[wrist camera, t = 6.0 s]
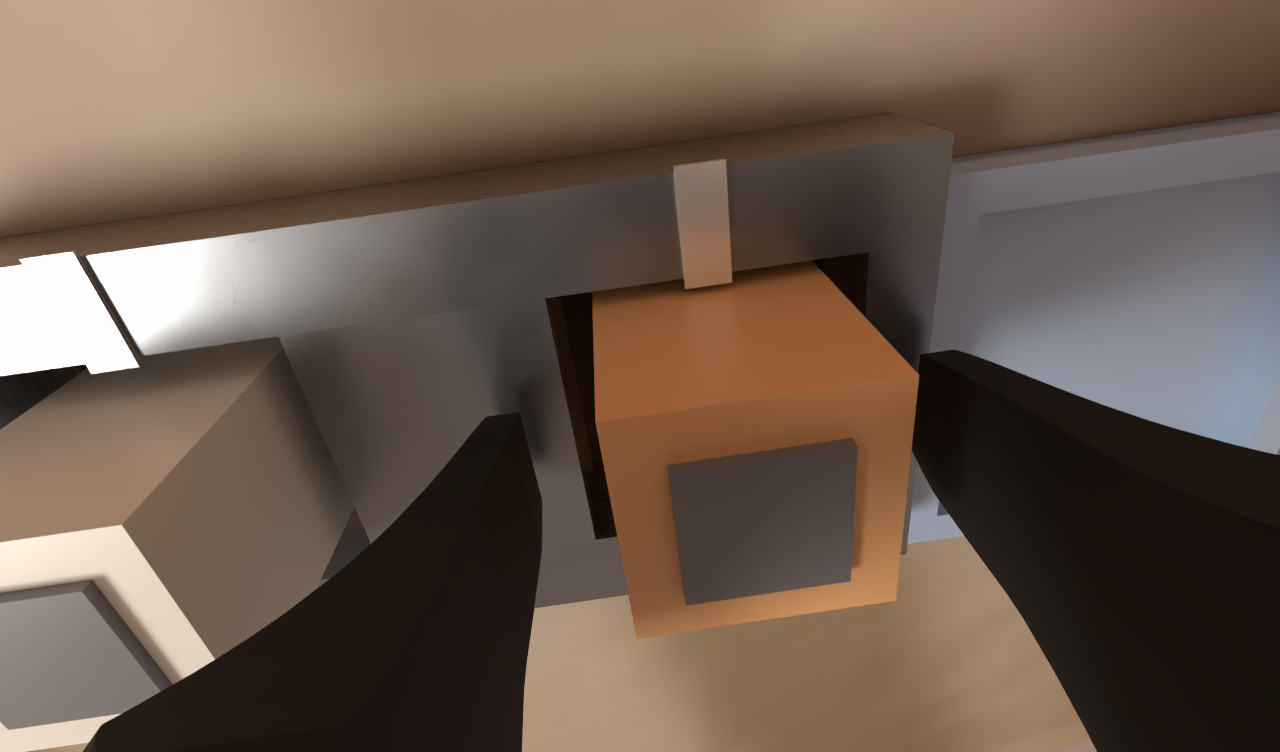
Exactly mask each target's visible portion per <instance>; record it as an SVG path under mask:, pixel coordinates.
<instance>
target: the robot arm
mask: <svg viewBox="0 0 1280 752" xmlns="http://www.w3.org/2000/svg"><path fill="white" fill-rule="evenodd" d="M918 374H919V383H918V392H917V402H916V411H915V421H914V430H913V440H912V452H913V454H914V456H915V458H916V460H917V462H918V464H919V466H920V468H921V470H922V472H923V474H924V476H925V478H926V480H927V481H928V483H929V485H930V487H931V489H932V491H933V492H934V494H935V495H936V497H937V498H938V500H939V501H940V503H941V504H942V505H943V507H944V508H945V510H946V511H947V512H948V514H949V515H950V517H951V518H952V519H953V521H954V522H955V524H956V525H957V526H958V528H959V529H960V530H961V532H962V533H963V535H964V536H965V537H966V539H967V540H968V541H969V543H970V544H971V545H972V547H973V548H974V549H975V551H976V552H977V554H978V555H979V556H980V558H981V559H982V560H983V562H984V563H985V564H986V566H987V567H988V569H989V570H990V571H991V573H992V574H993V575H994V577H995V578H996V579H997V581H998V582H999V584H1000V585H1001V586H1002V588H1003V589H1004V590H1005V592H1006V593H1007V595H1008V596H1009V598H1010V599H1011V600H1012V602H1013V603H1014V605H1015V606H1016V608H1017V609H1018V611H1019V612H1020V614H1021V615H1022V617H1023V619H1024V620H1025V622H1026V624H1027V625H1028V627H1029V629H1030V631H1031V632H1032V634H1033V636H1034V637H1035V639H1036V641H1037V643H1038V644H1039V646H1040V648H1041V649H1042V651H1043V653H1044V655H1045V656H1046V658H1047V660H1048V661H1049V663H1050V665H1051V667H1052V668H1053V670H1054V672H1055V674H1056V675H1057V677H1058V679H1059V681H1060V683H1061V685H1062V686H1063V688H1064V690H1065V692H1066V694H1067V696H1068V697H1069V699H1070V701H1071V703H1072V705H1073V707H1074V708H1075V710H1076V712H1077V714H1078V716H1079V718H1080V719H1081V721H1082V723H1083V725H1084V727H1085V729H1086V731H1087V733H1088V734H1089V736H1090V738H1091V740H1092V742H1093V744H1094V746H1095V748H1096V750H1097V752H1280V455H1277V454H1272V453H1267V452H1263V451H1259V450H1254V449H1250V448H1246V447H1242V446H1238V445H1234V444H1230V443H1226V442H1222V441H1219V440H1215V439H1212V438H1208V437H1204V436H1201V435H1197V434H1194V433H1190V432H1186V431H1183V430H1179V429H1176V428H1172V427H1169V426H1166V425H1162V424H1159V423H1156V422H1153V421H1149V420H1146V419H1143V418H1140V417H1137V416H1134V415H1132V414H1129V413H1126V412H1123V411H1120V410H1117V409H1114V408H1111V407H1108V406H1105V405H1102V404H1100V403H1097V402H1094V401H1091V400H1089V399H1086V398H1083V397H1080V396H1078V395H1075V394H1073V393H1070V392H1067V391H1065V390H1062V389H1060V388H1057V387H1054V386H1052V385H1049V384H1047V383H1044V382H1042V381H1039V380H1037V379H1034V378H1031V377H1029V376H1026V375H1024V374H1021V373H1019V372H1016V371H1014V370H1011V369H1009V368H1006V367H1004V366H1001V365H999V364H996V363H993V362H991V361H988V360H985V359H983V358H980V357H977V356H974V355H971V354H968V353H965V352H962V351H958V350H947V351H940V352H933V353H926V354H920V361H919V370H918ZM541 554H542V498H541V494H540V490H539V486H538V482H537V478H536V474H535V470H534V466H533V463H532V459H531V455H530V451H529V447H528V443H527V439H526V435H525V431H524V427H523V423H522V420H521V416H520V412H515V413H508V414H502V415H495V416H488V417H485V418H484V419H483V420H482V422H481V423H480V424H479V425H478V426H477V428H476V429H475V430H474V431H473V432H472V434H471V435H470V436H469V437H468V439H467V440H466V441H465V442H464V444H463V445H462V446H461V447H460V448H459V450H458V451H457V452H456V453H455V455H454V456H453V457H452V458H451V459H450V461H449V462H448V463H447V464H446V465H445V467H444V468H443V469H442V470H441V471H440V472H439V474H438V475H437V476H436V477H435V478H434V480H433V481H432V482H431V483H430V484H429V485H428V486H427V487H426V488H425V490H424V491H423V492H422V493H421V494H420V495H419V496H418V497H417V498H416V499H415V500H414V501H413V502H412V503H411V504H410V505H409V506H408V508H407V509H406V510H405V511H404V512H403V513H402V514H401V515H400V516H399V517H398V518H397V519H396V520H395V521H394V522H393V523H392V524H391V525H390V526H389V527H388V528H387V529H386V530H385V531H384V532H383V533H382V534H381V535H380V536H379V537H378V538H377V539H376V540H375V541H373V542H372V543H371V544H370V545H369V546H368V547H367V548H366V549H365V550H363V551H362V552H361V553H360V554H359V555H358V556H357V557H355V558H354V559H353V560H352V561H351V562H350V563H349V564H347V565H346V566H345V567H344V568H343V569H341V570H340V571H339V572H338V573H337V574H335V575H334V576H333V577H331V578H330V579H329V580H328V581H326V582H325V583H324V584H322V585H321V586H320V587H318V588H317V589H316V590H314V591H313V592H312V593H311V594H309V595H308V596H307V597H305V598H304V599H303V600H301V601H300V602H299V603H297V604H296V605H295V606H294V607H292V608H291V609H290V610H288V611H287V612H286V613H284V614H283V615H281V616H280V617H279V618H277V619H276V620H274V621H273V622H271V623H270V624H268V625H267V626H265V627H264V628H263V629H261V630H260V631H258V632H257V633H255V634H254V635H252V636H251V637H249V638H248V639H246V640H245V641H243V642H242V643H240V644H239V645H237V646H235V647H234V648H232V649H231V650H229V651H228V652H226V653H225V654H223V655H221V656H220V657H218V658H217V659H215V660H214V661H212V662H210V663H209V664H207V665H205V666H204V667H202V668H200V669H199V670H197V671H196V672H194V673H192V674H191V675H189V676H187V677H185V678H184V679H182V680H180V681H178V682H177V683H175V684H173V685H171V686H170V687H168V688H166V689H164V690H163V691H161V692H159V693H157V694H156V695H154V696H152V697H150V698H148V699H147V700H145V701H143V702H141V703H140V704H138V705H136V706H134V707H133V708H131V709H129V710H127V711H126V712H124V713H122V714H120V715H118V716H117V717H115V718H113V719H111V720H109V721H107V722H105V723H104V724H102V725H101V726H100V727H99V729H98V730H97V732H96V733H95V735H94V736H93V737H92V739H91V740H90V742H89V743H88V745H87V746H86V748H85V749H84V751H83V752H522V728H523V701H524V684H525V673H526V663H527V656H528V649H529V642H530V635H531V627H532V620H533V613H534V606H535V599H536V592H537V584H538V577H539V569H540V562H541Z"/></svg>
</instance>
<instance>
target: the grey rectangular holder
mask: <svg viewBox="0 0 1280 752" xmlns="http://www.w3.org/2000/svg"><path fill="white" fill-rule="evenodd" d="M954 138H955V132H952V131H948V130H945V129H942V128H939V127H936V126H932V125H929V124H926V123H923V122H919V121H916V120H913V119H910V118H907V117H903V116H900V115H897V114H894V113H884V114H877V115H870V116H863V117H855V118H848V119H841V120H834V121H827V122H820V123H813V124H806V125H799V126H792V127H785V128H778V129H771V130H764V131H756V132H749V133H742V134H735V135H728V136H721V137H714V138H707V139H700V140H693V141H686V142H679V143H672V144H665V145H658V146H650V147H643V148H636V149H629V150H622V151H615V152H608V153H601V154H594V155H587V156H580V157H573V158H566V159H559V160H551V161H544V162H537V163H530V164H523V165H516V166H509V167H502V168H495V169H488V170H481V171H474V172H467V173H460V174H453V175H445V176H438V177H431V178H424V179H417V180H410V181H403V182H396V183H389V184H382V185H375V186H368V187H361V188H354V189H346V190H339V191H332V192H325V193H318V194H311V195H304V196H297V197H290V198H283V199H276V200H269V201H262V202H255V203H248V204H240V205H233V206H226V207H219V208H212V209H205V210H198V211H191V212H184V213H177V214H170V215H163V216H156V217H149V218H141V219H134V220H127V221H120V222H113V223H106V224H99V225H92V226H85V227H78V228H71V229H64V230H57V231H50V232H43V233H35V234H28V235H21V236H14V237H7V238H0V430H1V429H2V428H3V427H5V426H6V425H8V424H9V423H11V422H12V421H13V420H15V419H16V418H18V417H19V416H20V415H22V414H23V413H25V412H26V411H28V410H29V409H30V408H32V407H33V406H35V405H36V404H37V403H39V402H40V401H42V400H43V399H45V398H46V397H47V396H49V395H50V394H52V393H53V392H54V391H56V390H57V389H59V388H60V387H62V386H63V385H64V384H66V383H67V382H69V381H70V380H71V379H73V378H74V377H76V376H77V375H79V374H80V373H81V372H83V371H84V370H83V368H82V366H81V365H82V364H86V366H87V367H88V369H89V370H90V372H91V374H95V373H102V372H109V371H116V370H123V369H130V368H137V367H140V366H141V365H143V363H142V362H141V360H140V358H139V356H145V355H152V354H159V353H166V352H173V351H180V350H187V349H194V348H201V347H208V346H215V345H222V344H229V343H236V342H243V341H250V340H257V339H264V338H271V337H279V339H280V342H281V344H282V346H283V348H284V350H285V353H286V355H287V357H288V359H289V362H290V364H291V366H292V368H293V371H294V373H295V375H296V377H297V380H298V382H299V384H300V386H301V388H302V391H303V393H304V395H305V397H306V400H307V402H308V404H309V406H310V409H311V411H312V413H313V415H314V418H315V420H316V422H317V424H318V426H319V429H320V431H321V433H322V435H323V438H324V440H325V442H326V444H327V447H328V449H329V451H330V453H331V456H332V458H333V460H334V462H335V464H336V467H337V469H338V471H339V473H340V476H341V478H342V480H343V482H344V485H345V487H346V489H347V491H348V493H349V496H350V498H351V500H352V502H353V505H354V507H355V508H354V510H353V512H352V514H351V516H350V518H349V520H348V523H347V525H346V527H345V529H344V531H343V533H342V535H341V538H340V540H339V542H338V544H337V546H336V548H335V550H334V552H333V555H332V557H331V559H330V561H329V563H328V565H327V567H326V569H325V572H324V574H323V576H322V578H321V580H320V582H319V584H318V587H320V586H321V585H322V584H324V583H325V582H326V581H328V580H329V579H330V578H331V577H333V576H334V575H335V574H337V573H338V572H339V571H340V570H341V569H343V568H344V567H345V566H346V565H347V564H349V563H350V562H351V561H352V560H353V559H354V558H355V557H357V556H358V555H359V554H360V553H361V552H362V551H363V550H365V549H366V548H367V547H368V546H369V545H370V544H371V543H372V542H373V541H375V540H376V539H377V538H378V537H379V536H380V535H381V534H382V533H383V532H384V531H385V530H386V529H387V528H388V527H389V526H390V525H391V524H392V523H393V522H394V521H395V520H396V519H397V518H398V517H399V516H400V515H401V514H402V513H403V512H404V511H405V510H406V509H407V508H408V506H409V505H410V504H411V503H412V502H413V501H414V500H415V499H416V498H417V497H418V496H419V495H420V494H421V493H422V492H423V491H424V490H425V488H426V487H427V486H428V485H429V484H430V483H431V482H432V481H433V480H434V478H435V477H436V476H437V475H438V474H439V472H440V471H441V470H442V469H443V468H444V467H445V465H446V464H447V463H448V462H449V461H450V459H451V458H452V457H453V456H454V455H455V453H456V452H457V451H458V450H459V448H460V447H461V446H462V445H463V444H464V442H465V441H466V440H467V439H468V437H469V436H470V435H471V434H472V432H473V431H474V430H475V429H476V428H477V426H478V425H479V424H480V423H481V422H482V420H483V419H484V418H485V417H488V416H495V415H502V414H508V413H515V412H520V416H521V420H522V423H523V427H524V431H525V435H526V439H527V443H528V447H529V451H530V455H531V459H532V463H533V466H534V470H535V474H536V478H537V482H538V486H539V490H540V494H541V498H542V554H541V562H540V569H539V577H538V584H537V592H536V599H535V606H534V608H539V607H546V606H553V605H560V604H566V603H573V602H580V601H587V600H594V599H601V598H608V597H614V596H621V595H628V589H627V584H626V579H625V574H624V569H623V563H622V558H621V553H620V548H619V542H618V537H617V532H616V527H615V522H614V516H613V511H612V506H611V501H610V496H609V490H608V485H607V480H606V475H605V470H604V468H602V469H595V470H594V466H593V461H592V456H591V451H590V446H589V441H588V435H587V430H586V425H585V420H584V415H583V410H582V405H581V400H580V395H579V390H578V385H577V380H576V375H575V370H574V365H573V360H572V354H571V349H570V344H569V339H568V334H567V329H566V324H565V319H564V314H563V309H562V304H561V299H560V296H565V295H572V294H580V293H587V292H594V291H601V290H608V289H615V288H622V287H629V286H636V285H643V284H650V283H657V282H664V281H671V280H678V279H684V287H685V289H690V288H697V287H704V286H711V285H718V284H725V283H732V272H734V271H741V270H748V269H755V268H762V267H769V266H776V265H783V264H790V263H797V262H804V261H811V260H818V259H822V272H823V273H824V274H825V275H826V276H827V277H828V278H829V279H830V280H831V281H832V282H833V283H834V284H835V286H836V287H837V288H838V289H839V290H840V291H841V292H842V293H843V294H844V295H845V296H846V297H847V298H848V299H849V301H850V302H851V303H852V304H853V305H854V306H855V307H856V308H857V309H858V310H859V311H860V312H861V313H862V314H863V315H864V317H865V318H866V319H867V320H868V321H869V322H870V323H871V324H872V325H873V326H874V327H875V328H876V329H877V330H878V331H879V333H880V334H881V335H882V336H883V337H884V338H885V339H886V340H887V341H888V342H889V343H890V344H891V345H892V346H893V348H894V349H895V350H896V351H897V352H898V353H899V354H900V355H901V356H902V357H903V358H904V359H905V360H906V361H907V362H908V364H909V365H910V366H911V367H912V368H913V369H914V370H915V371H916V372H917V373H918V370H919V361H920V354H926V353H930V345H931V336H932V327H933V319H934V310H935V301H936V293H937V284H938V276H939V267H940V258H941V250H942V241H943V232H944V224H945V215H946V207H947V198H948V189H949V181H950V172H951V163H952V155H953V146H954ZM916 465H917V460H916V458H915V456H914V454H913V452H912V450H911V459H910V469H909V478H908V488H907V497H906V507H905V517H904V526H903V536H902V545H901V555H903V554H906V552H907V543H908V534H909V526H910V517H911V508H912V500H913V491H914V483H915V474H916ZM318 587H317V588H318Z"/></svg>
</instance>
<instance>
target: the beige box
mask: <svg viewBox="0 0 1280 752" xmlns="http://www.w3.org/2000/svg"><path fill="white" fill-rule="evenodd" d="M139 358H140V360H141V362H142V363H143V365H141V366H140V367H137V368H130V369H123V370H116V371H109V372H102V373H95V374H91V372H90V370H89V369H88V368H87V369H86V370H84V371H83V372H81V373H80V374H79V375H77V376H76V377H74V378H73V379H71V380H70V381H69V382H67V383H66V384H64V385H63V386H62V387H60V388H59V389H57V390H56V391H54V392H53V393H52V394H50V395H49V396H47V397H46V398H45V399H43V400H42V401H40V402H39V403H37V404H36V405H35V406H33V407H32V408H30V409H29V410H28V411H26V412H25V413H23V414H22V415H20V416H19V417H18V418H16V419H15V420H13V421H12V422H11V423H9V424H8V425H6V426H5V427H3V428H2V429H1V430H0V752H26V751H33V750H40V749H47V748H54V747H61V746H67V745H74V744H81V743H88V742H90V740H91V739H92V737H93V736H94V735H95V733H96V732H97V730H98V729H99V727H100V726H101V725H102V724H104V723H105V722H107V721H109V720H111V719H113V718H115V717H117V716H118V715H120V714H122V713H124V712H126V711H127V710H129V709H131V708H133V707H134V706H136V705H138V704H140V703H141V702H143V701H145V700H147V699H148V698H150V697H152V696H154V695H156V694H157V693H159V692H161V691H163V690H164V689H166V688H168V687H170V686H171V685H173V684H175V683H177V682H178V681H180V680H182V679H184V678H185V677H187V676H189V675H191V674H192V673H194V672H196V671H197V670H199V669H200V668H202V667H204V666H205V665H207V664H209V663H210V662H212V661H214V660H215V659H217V658H218V657H220V656H221V655H223V654H225V653H226V652H228V651H229V650H231V649H232V648H234V647H235V646H237V645H239V644H240V643H242V642H243V641H245V640H246V639H248V638H249V637H251V636H252V635H254V634H255V633H257V632H258V631H260V630H261V629H263V628H264V627H265V626H267V625H268V624H270V623H271V622H273V621H274V620H276V619H277V618H279V617H280V616H281V615H283V614H284V613H286V612H287V611H288V610H290V609H291V608H292V607H294V606H295V605H296V604H297V603H299V602H300V601H301V600H303V599H304V598H305V597H307V596H308V595H309V594H311V593H312V592H313V591H314V590H316V589H317V587H318V584H319V582H320V580H321V578H322V576H323V574H324V572H325V569H326V567H327V565H328V563H329V561H330V559H331V557H332V555H333V552H334V550H335V548H336V546H337V544H338V542H339V540H340V538H341V535H342V533H343V531H344V529H345V527H346V525H347V523H348V520H349V518H350V516H351V514H352V512H353V510H354V508H355V507H354V505H353V502H352V500H351V498H350V496H349V493H348V491H347V489H346V487H345V485H344V482H343V480H342V478H341V476H340V473H339V471H338V469H337V467H336V464H335V462H334V460H333V458H332V456H331V453H330V451H329V449H328V447H327V444H326V442H325V440H324V438H323V435H322V433H321V431H320V429H319V426H318V424H317V422H316V420H315V418H314V415H313V413H312V411H311V409H310V406H309V404H308V402H307V400H306V397H305V395H304V393H303V391H302V388H301V386H300V384H299V382H298V380H297V377H296V375H295V373H294V371H293V368H292V366H291V364H290V362H289V359H288V357H287V355H286V353H285V350H284V348H283V346H282V344H281V342H280V339H279V337H271V338H264V339H257V340H250V341H243V342H236V343H229V344H222V345H215V346H208V347H201V348H194V349H187V350H180V351H173V352H166V353H159V354H152V355H145V356H139Z"/></svg>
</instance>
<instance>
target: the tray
mask: <svg viewBox="0 0 1280 752" xmlns="http://www.w3.org/2000/svg"><path fill="white" fill-rule="evenodd" d="M947 350H958V351H962V352H965V353H968V354H971V355H974V356H977V357H980V358H983V359H985V360H988V361H991V362H993V363H996V364H999V365H1001V366H1004V367H1006V368H1009V369H1011V370H1014V371H1016V372H1019V373H1021V374H1024V375H1026V376H1029V377H1031V378H1034V379H1037V380H1039V381H1042V382H1044V383H1047V384H1049V385H1052V386H1054V387H1057V388H1060V389H1062V390H1065V391H1067V392H1070V393H1073V394H1075V395H1078V396H1080V397H1083V398H1086V399H1089V400H1091V401H1094V402H1097V403H1100V404H1102V405H1105V406H1108V407H1111V408H1114V409H1117V410H1120V411H1123V412H1126V413H1129V414H1132V415H1134V416H1137V417H1140V418H1143V419H1146V420H1149V421H1153V422H1156V423H1159V424H1162V425H1166V426H1169V427H1172V428H1176V429H1179V430H1183V431H1186V432H1190V433H1194V434H1197V435H1201V436H1204V437H1208V438H1212V439H1215V440H1219V441H1222V442H1226V443H1230V444H1234V445H1238V446H1242V447H1246V448H1250V449H1254V450H1259V451H1263V452H1267V453H1272V454H1277V452H1278V450H1279V448H1280V111H1279V112H1271V113H1264V114H1257V115H1250V116H1243V117H1236V118H1229V119H1222V120H1215V121H1208V122H1201V123H1194V124H1187V125H1180V126H1173V127H1166V128H1159V129H1152V130H1145V131H1138V132H1131V133H1124V134H1117V135H1109V136H1102V137H1095V138H1088V139H1081V140H1074V141H1067V142H1060V143H1053V144H1046V145H1039V146H1032V147H1025V148H1018V149H1011V150H1004V151H997V152H990V153H983V154H976V155H969V156H962V157H955V158H952V163H951V172H950V181H949V189H948V198H947V207H946V215H945V224H944V232H943V241H942V250H941V258H940V267H939V276H938V284H937V293H936V301H935V310H934V319H933V327H932V336H931V345H930V353H933V352H940V351H947ZM961 536H964V535H963V533H962V532H961V530H960V529H959V528H958V526H957V525H956V524H955V522H954V521H953V519H952V518H951V517H950V515H949V514H948V512H947V511H946V510H945V508H944V507H943V505H942V504H941V503H940V501H939V500H938V498H937V497H936V495H935V494H934V492H933V491H932V489H931V487H930V485H929V483H928V481H927V480H926V478H925V476H924V474H923V472H922V470H921V468H920V466H919V464H918V462H917V465H916V474H915V483H914V491H913V500H912V508H911V517H910V526H909V534H908V543H907V544H912V543H919V542H926V541H933V540H940V539H947V538H954V537H961Z"/></svg>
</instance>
